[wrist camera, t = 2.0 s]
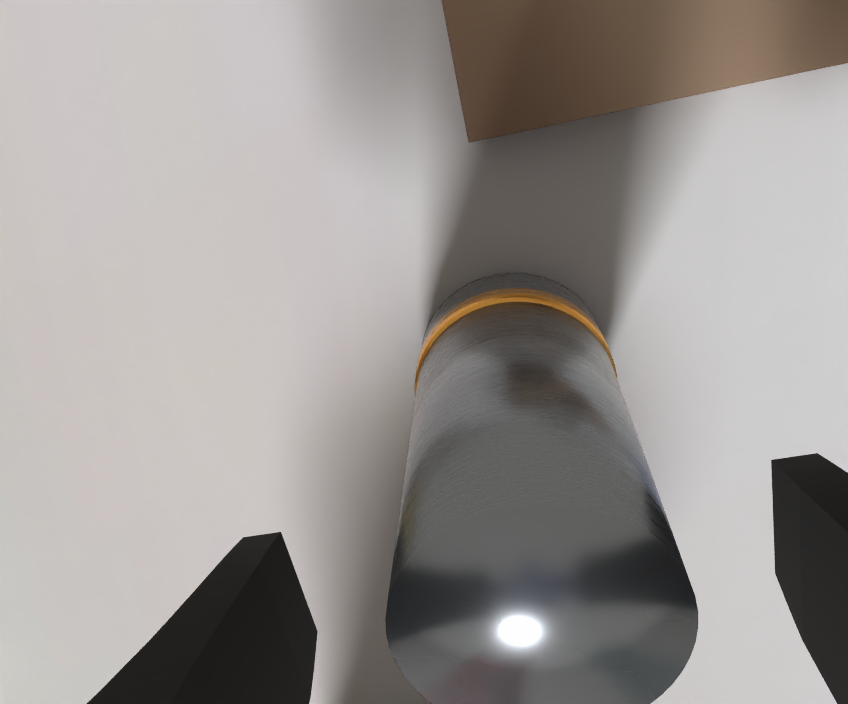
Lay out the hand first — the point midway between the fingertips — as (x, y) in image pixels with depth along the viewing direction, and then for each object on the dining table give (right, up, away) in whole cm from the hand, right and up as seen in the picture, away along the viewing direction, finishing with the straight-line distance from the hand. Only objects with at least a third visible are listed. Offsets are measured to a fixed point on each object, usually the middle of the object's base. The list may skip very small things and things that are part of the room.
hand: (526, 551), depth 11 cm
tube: (0, +3, +6) cm, 7 cm away
